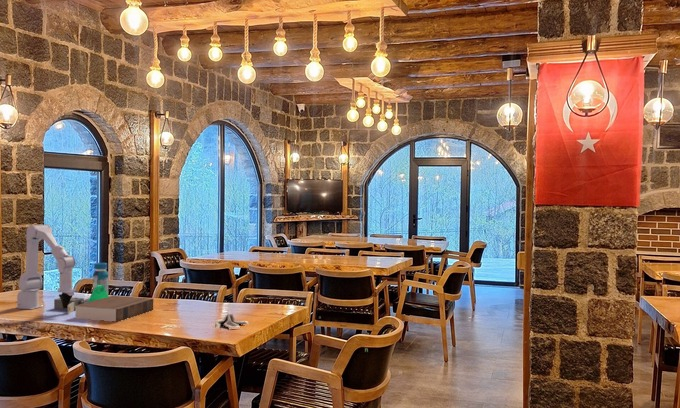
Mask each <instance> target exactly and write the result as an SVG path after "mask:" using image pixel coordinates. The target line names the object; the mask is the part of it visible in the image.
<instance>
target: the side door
mask: <svg viewBox="0 0 680 408" xmlns="http://www.w3.org/2000/svg"><path fill="white" fill-rule="evenodd" d="M73 312H76V310H75V302H72V303H70V304H69V305H68V310H67V315H70V314H71V313H73Z"/></svg>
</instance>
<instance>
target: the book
mask: <svg viewBox="0 0 680 408" xmlns="http://www.w3.org/2000/svg"><path fill="white" fill-rule="evenodd" d="M75 309H76V310H75V319H78V320H88V319H91V320H90V321H100V320H104V321H103V322H112V321H116V322H115V323H119V322H118V321H120V322H122V321H121V320H123V321H125V319H126V320H128V319H127V318H129V319H131V317H132V318H134V316H135V317H137V315H138V316H140V314H141V315H142V314H143V313H144V314H146V312H147V313H149V311H150V312H152V310H153V311H154V298H147V297H135V296H134V297H132V296H122V295H111V296H109V297H106V298H102V299H99V300H95V301H91V302H88V301H87V302H84V303H83V304H79V305H75Z"/></svg>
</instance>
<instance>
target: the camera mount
mask: <svg viewBox="0 0 680 408" xmlns="http://www.w3.org/2000/svg"><path fill="white" fill-rule="evenodd" d="M106 297H110V296H109V293H108V294H107V292H106V291H105V287H104V286H102V285H97V286H96V287H95V288H94V290H93V289H92V293H91V294H90V296H89V297H88V301H87V302H91V301H95V300H99V299H102V298H106Z"/></svg>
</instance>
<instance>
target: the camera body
mask: <svg viewBox="0 0 680 408" xmlns="http://www.w3.org/2000/svg"><path fill="white" fill-rule="evenodd" d="M72 302H75V305H79V304H83V303H85V298H81V297H79V296H75V297H72V298H71V300H70V303H72ZM53 303H54V304H53V305H54V306H53V307H54V308H53V309H54V310H59V309H60V311H62V310H63V311H68V308H65V309H64V308H63V305H62V301H61V299H60V297H59V298H54V302H53ZM70 303H69V304H70ZM75 311H76V309H75Z"/></svg>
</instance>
